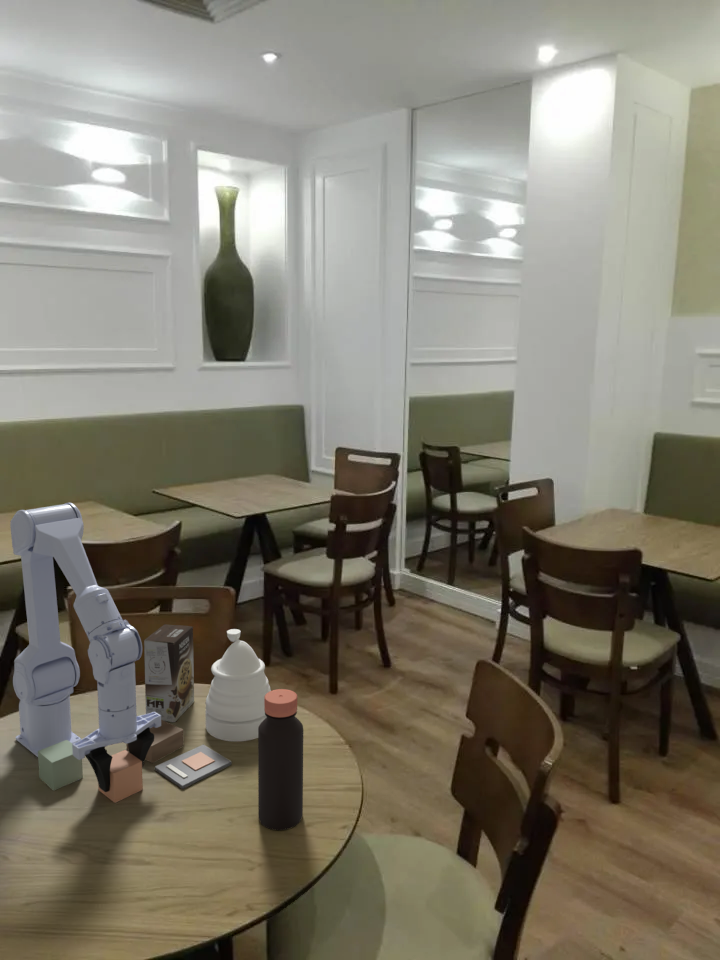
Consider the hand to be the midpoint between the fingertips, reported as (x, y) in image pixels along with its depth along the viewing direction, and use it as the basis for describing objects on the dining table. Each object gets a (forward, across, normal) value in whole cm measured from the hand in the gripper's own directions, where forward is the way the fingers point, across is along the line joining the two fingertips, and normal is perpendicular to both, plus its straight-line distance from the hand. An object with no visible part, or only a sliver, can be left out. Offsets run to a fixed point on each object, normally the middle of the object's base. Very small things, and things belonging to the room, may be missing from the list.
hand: (120, 781), depth 121 cm
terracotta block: (+1, 0, 0) cm, 1 cm away
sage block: (+2, -5, +10) cm, 11 cm away
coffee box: (+2, +21, +17) cm, 27 cm away
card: (+1, +12, -3) cm, 12 cm away
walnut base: (+2, +11, +7) cm, 13 cm away
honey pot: (+2, +27, +3) cm, 27 cm away
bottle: (+2, +13, -24) cm, 27 cm away
